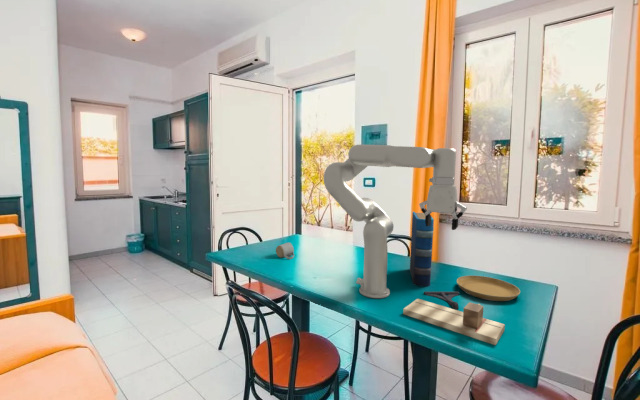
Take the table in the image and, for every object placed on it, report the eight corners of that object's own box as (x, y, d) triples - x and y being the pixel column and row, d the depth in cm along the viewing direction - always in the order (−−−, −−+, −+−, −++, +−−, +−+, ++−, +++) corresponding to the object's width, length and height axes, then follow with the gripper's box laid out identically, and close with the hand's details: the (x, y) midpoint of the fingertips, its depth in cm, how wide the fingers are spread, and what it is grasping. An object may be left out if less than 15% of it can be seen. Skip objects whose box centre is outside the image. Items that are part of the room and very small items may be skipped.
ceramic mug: (274, 256, 186) (274, 243, 185) (285, 253, 192) (285, 241, 191) (286, 260, 178) (286, 247, 178) (297, 257, 184) (297, 244, 183)
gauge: (462, 324, 104) (463, 308, 104) (471, 314, 111) (472, 299, 111) (477, 328, 101) (478, 312, 101) (485, 318, 108) (486, 302, 108)
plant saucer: (510, 285, 146) (511, 278, 146) (527, 307, 123) (528, 299, 123) (453, 279, 153) (453, 272, 153) (459, 299, 130) (460, 291, 130)
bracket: (437, 310, 120) (438, 303, 120) (423, 294, 135) (424, 288, 135) (475, 311, 121) (476, 304, 121) (457, 295, 136) (457, 288, 135)
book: (434, 288, 141) (438, 220, 138) (413, 286, 143) (417, 219, 140) (427, 270, 165) (430, 212, 162) (409, 269, 166) (412, 211, 163)
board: (403, 314, 116) (403, 308, 116) (417, 303, 125) (417, 298, 125) (495, 345, 96) (496, 338, 96) (504, 330, 105) (504, 324, 105)
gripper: (416, 181, 122) (414, 225, 123) (464, 183, 110) (461, 232, 112) (424, 180, 127) (422, 223, 129) (471, 182, 116) (468, 229, 118)
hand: (440, 227), depth 121 cm, fingers open, 9 cm apart
